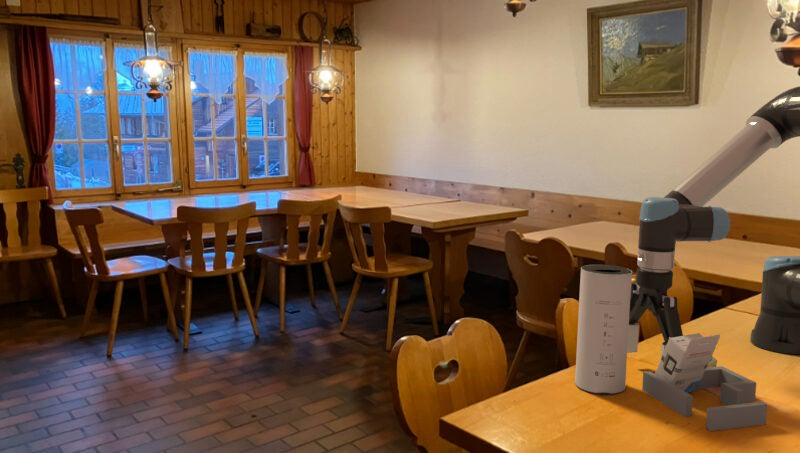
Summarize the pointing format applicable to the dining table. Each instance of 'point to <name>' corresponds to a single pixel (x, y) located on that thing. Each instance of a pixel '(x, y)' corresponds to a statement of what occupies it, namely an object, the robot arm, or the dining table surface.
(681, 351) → the ink box
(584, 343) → the speaker
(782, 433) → the dining table surface
